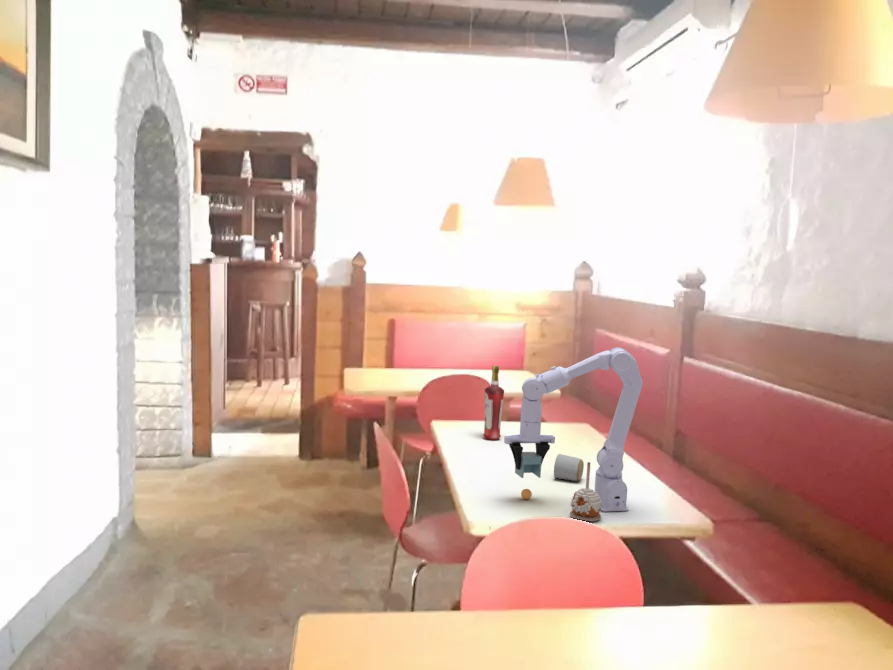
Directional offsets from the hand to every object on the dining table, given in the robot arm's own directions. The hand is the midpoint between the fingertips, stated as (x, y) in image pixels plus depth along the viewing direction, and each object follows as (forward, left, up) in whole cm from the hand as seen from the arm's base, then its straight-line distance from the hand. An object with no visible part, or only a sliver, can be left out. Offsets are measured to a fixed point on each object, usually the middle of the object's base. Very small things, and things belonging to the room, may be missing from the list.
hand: (527, 468), depth 211 cm
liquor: (+73, -15, -9) cm, 75 cm away
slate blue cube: (0, 0, -2) cm, 2 cm away
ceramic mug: (+19, -22, -9) cm, 30 cm away
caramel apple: (-17, -10, -9) cm, 22 cm away
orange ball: (0, 0, -9) cm, 9 cm away
